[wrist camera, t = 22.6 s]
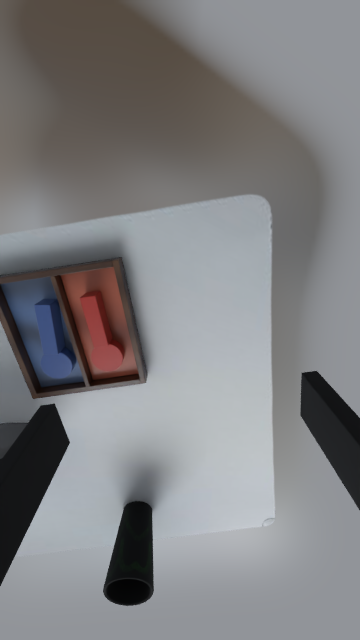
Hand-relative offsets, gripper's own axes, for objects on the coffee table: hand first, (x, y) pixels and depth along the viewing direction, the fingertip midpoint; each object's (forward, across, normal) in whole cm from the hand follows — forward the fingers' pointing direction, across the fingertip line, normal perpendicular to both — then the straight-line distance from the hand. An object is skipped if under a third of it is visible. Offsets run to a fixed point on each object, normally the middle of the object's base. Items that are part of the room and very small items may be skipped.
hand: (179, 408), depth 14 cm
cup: (+23, -14, -42) cm, 50 cm away
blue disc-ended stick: (+22, -18, -4) cm, 29 cm away
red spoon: (+22, -11, -4) cm, 25 cm away
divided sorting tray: (+23, -15, -3) cm, 28 cm away
